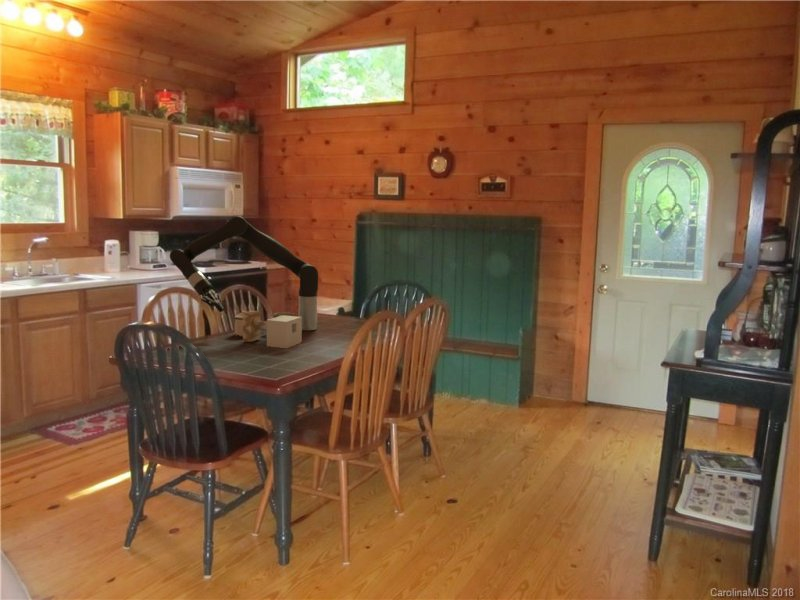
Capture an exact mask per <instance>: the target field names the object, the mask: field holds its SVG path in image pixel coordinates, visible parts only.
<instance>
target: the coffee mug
mask: <svg viewBox="0 0 800 600" xmlns="http://www.w3.org/2000/svg"><path fill="white" fill-rule="evenodd" d="M282 315H285V316H295V313H292V312H290V311H289V312H288V311H286V312H284V311H282V312H275V313H273V316H271V317H268V318H267V320H268V319H272V318H275V317H278V316H282ZM267 320H266V321H267Z"/></svg>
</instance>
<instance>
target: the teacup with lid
mask: <svg viewBox="0 0 800 600" xmlns="http://www.w3.org/2000/svg"><path fill="white" fill-rule="evenodd" d="M245 312H247V311H246V310H242V311H241V312H239V314H237V315H235V316H233V317H234V335H235V334H237V335H243V313H245ZM237 335H236V336H237Z"/></svg>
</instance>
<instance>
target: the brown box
mask: <svg viewBox="0 0 800 600" xmlns="http://www.w3.org/2000/svg"><path fill="white" fill-rule="evenodd" d="M260 318H261V311H259V310H249V311H246V312H245V313H243V336H242V341H243V342H247V343H251V342H255V341H258V340H260V339H261V330H266V331H267V320H261V319H260Z"/></svg>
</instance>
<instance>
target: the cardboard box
mask: <svg viewBox="0 0 800 600" xmlns="http://www.w3.org/2000/svg"><path fill="white" fill-rule="evenodd" d="M267 319H268V318H267ZM266 321H267V330H266V347H269V346H270V348H271V347H272V348H278V347H279V349H280V348H281V349H289V348H291V346H292V347H294V346H297V345H299V344H302V343H301V342H303V341H302V339H303V338H302V335H303V334H302V332H303V330H302V317H299V316H295V315H294V316H285V315H282V316H278V317H275V318H272V319H268V320H266ZM296 344H297V345H296Z"/></svg>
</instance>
